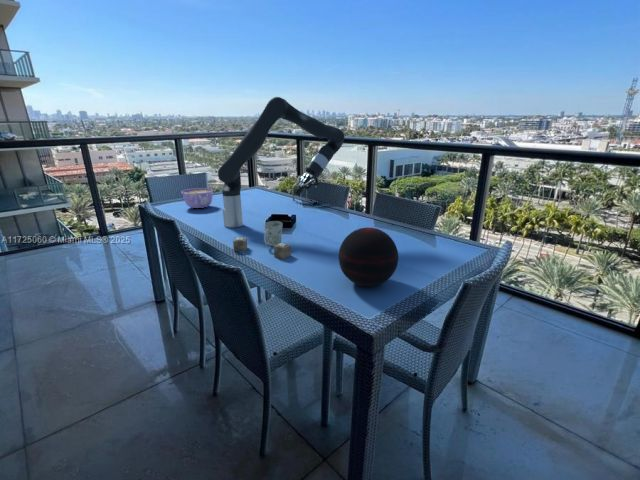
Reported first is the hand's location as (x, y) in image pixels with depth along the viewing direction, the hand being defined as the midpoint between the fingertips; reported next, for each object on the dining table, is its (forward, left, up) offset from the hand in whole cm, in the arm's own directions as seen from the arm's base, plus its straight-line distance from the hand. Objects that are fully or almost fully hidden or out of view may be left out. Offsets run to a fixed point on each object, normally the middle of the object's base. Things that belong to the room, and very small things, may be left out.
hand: (296, 194), depth 151 cm
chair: (-21, +76, -22) cm, 82 cm away
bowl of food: (-85, +42, -22) cm, 98 cm away
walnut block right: (+2, -22, -22) cm, 31 cm away
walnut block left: (-19, -20, -22) cm, 36 cm away
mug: (-8, -11, -22) cm, 26 cm away
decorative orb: (+40, -37, -22) cm, 58 cm away
